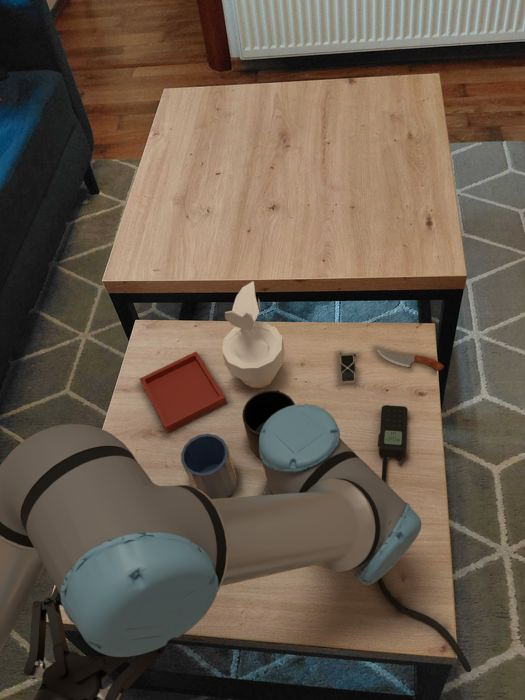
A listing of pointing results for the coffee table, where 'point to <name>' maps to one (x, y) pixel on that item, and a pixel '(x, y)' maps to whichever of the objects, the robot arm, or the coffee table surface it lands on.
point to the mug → (262, 414)
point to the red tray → (182, 391)
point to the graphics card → (348, 368)
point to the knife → (410, 360)
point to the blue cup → (209, 466)
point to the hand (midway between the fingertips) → (121, 571)
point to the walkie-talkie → (392, 435)
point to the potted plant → (251, 342)
